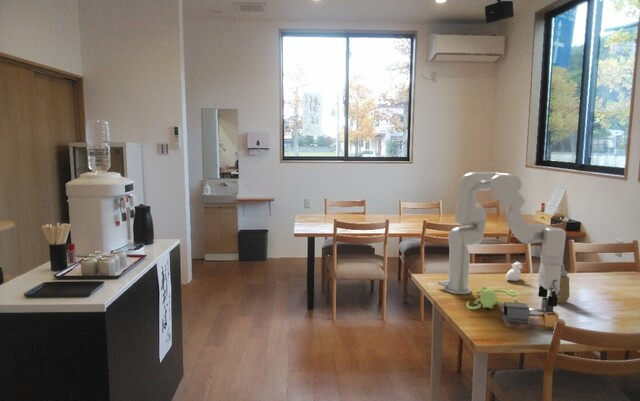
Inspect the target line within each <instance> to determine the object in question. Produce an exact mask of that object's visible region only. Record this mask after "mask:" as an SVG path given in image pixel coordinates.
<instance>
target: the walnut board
mask: <svg viewBox="0 0 640 401" xmlns="http://www.w3.org/2000/svg"><path fill="white" fill-rule="evenodd" d="M501 320H502V321H503V323H504V324H505V325H506V327H507V328H508V329H520V330H521V329H522V330H537V331H547V332H548V331H549V332H555V331H554V327H546V326H544V325H543V323H542V322H541V321H540V320H539V317H529V319H528V324H517V323H506V321H505V320H504V318H503V315H501Z"/></svg>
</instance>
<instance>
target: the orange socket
mask: <svg viewBox="0 0 640 401" xmlns="http://www.w3.org/2000/svg"><path fill="white" fill-rule="evenodd" d="M553 312H554V315H550V314H545V316H544V317H538V318H539V320H540V321H541V322H542V323H543V325H544V326H546V327H555V323H556V321H557V320H558V321H559V317H560V315H559V314H558V313H557V312H556V311H555V309H553Z"/></svg>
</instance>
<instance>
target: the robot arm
mask: <svg viewBox="0 0 640 401" xmlns="http://www.w3.org/2000/svg"><path fill="white" fill-rule="evenodd" d="M457 186H458V187H457V190H458V192H457V200H456V205H455V212H454V220H455V223H456V224H458V225H461V226H457V227H454V228H452V229H451V230H449V232H448V235H447V238H448V239H447V240H448V246H449V250H448V251H449V254H448V255H449V256H448V258H449V260H448V272H447V275H448V276H447V278H446V280H437V285H440V286H442V287H443V289H444V290H445V291H446V292H447V293H451V294H455V295H468V294H471V292H472V288H470V287H469V279H470V278H469V275H470V264H471V263H470V262H471V261H470V258H471V256H470V251H469V249H468V247H470V246H476V245H479V244H480V243H481V242H482V240H483V238H484V236H485V234H484V233H485V228H486V223H487V222H486V221H487V211H486V210H485V207H483V206H482V205H481V204H476V203H477V195H476V194H477V193H476V191H492V193H493V194H494V196H495V197H496V198H497V200H498V201H499V202H500V204H501V205H502V206H503V209H504V210H505V211H506V213H505V214H506V216H505V217H506V223H507V226H508V228H509V230H510V231H511V233H512V234H513V235H514V237H515V238H516V239H517V240H518V241H519V242H521V243H523V244H527V245H529V244H536V243H542V245H541V253H540V254H541V255H540V264H539V269H538V274H537V275H538V276H537V283H538V294H537V296H538V297H540V298H542V297H546V298H548V304H547V305H548V306H553V308H554V307H557V306H558V303H557V300H558V295H559V291H560V277H561V265H562V264H564V263H563V262H564V253H565V247H566V246H565V244H566V236H567V235H566V234H567V233H566V230H564V229H563V228H560V227H555V226H554V227H553V226H550V225H548V224H545V223H530V224H528V223H527V221H526V220H525V219H524V217H523V215H522V213H521V209H522V208H523V207H524V205H525V204H526V200H525V197H523V195H522V194H521V192H520V190H521V187H522V180H521V179H520V177H519V176H518V175H515V174H513V173H504V172H495V171H472V172H468V173H466V174H464V175H462V176H461V178H460V179H459V180H458V185H457ZM552 291H553V292H552ZM548 293H549V295H548Z"/></svg>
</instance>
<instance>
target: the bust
mask: <svg viewBox="0 0 640 401" xmlns="http://www.w3.org/2000/svg"><path fill="white" fill-rule="evenodd" d="M522 268H523V264H522V263H521V262H519V261H515V262H514V263H512V264H511V269H509V271H507V273H506V275H505V280H506V281H514V282H517V281H519V280H520V279H521V277H522V272H521V269H522Z"/></svg>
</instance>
